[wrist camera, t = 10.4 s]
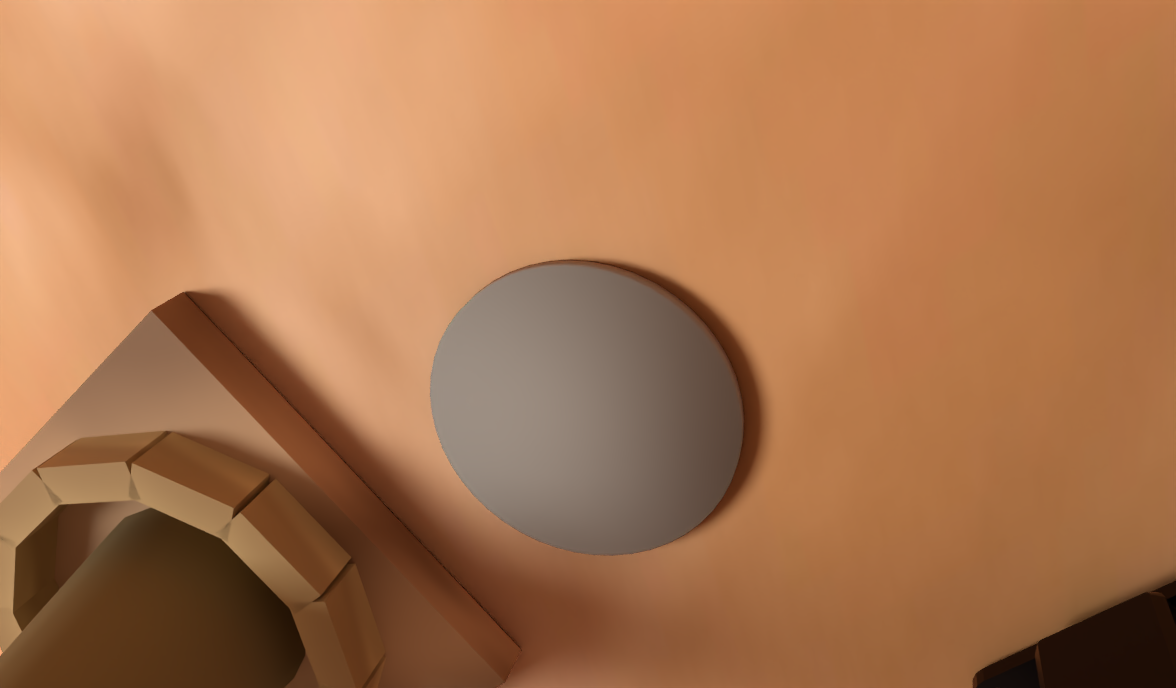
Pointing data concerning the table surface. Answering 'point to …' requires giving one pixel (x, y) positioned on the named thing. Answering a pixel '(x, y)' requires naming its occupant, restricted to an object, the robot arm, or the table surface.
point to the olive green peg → (158, 618)
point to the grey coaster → (587, 407)
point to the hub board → (287, 444)
